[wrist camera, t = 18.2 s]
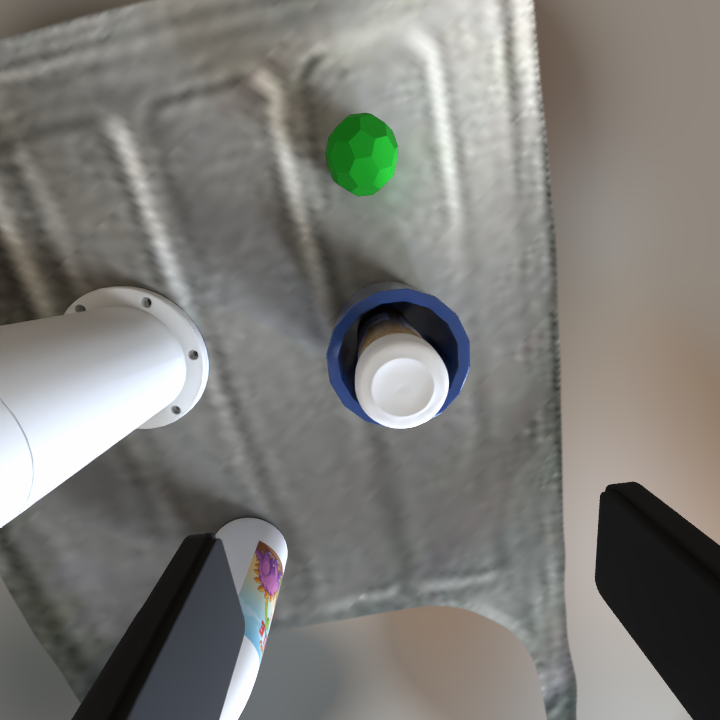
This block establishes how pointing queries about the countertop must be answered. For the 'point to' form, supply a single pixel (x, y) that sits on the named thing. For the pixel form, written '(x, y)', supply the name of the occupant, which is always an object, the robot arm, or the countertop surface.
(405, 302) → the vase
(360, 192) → the polyhedron
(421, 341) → the sprinkles bottle
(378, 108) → the countertop surface
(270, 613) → the milk bottle
